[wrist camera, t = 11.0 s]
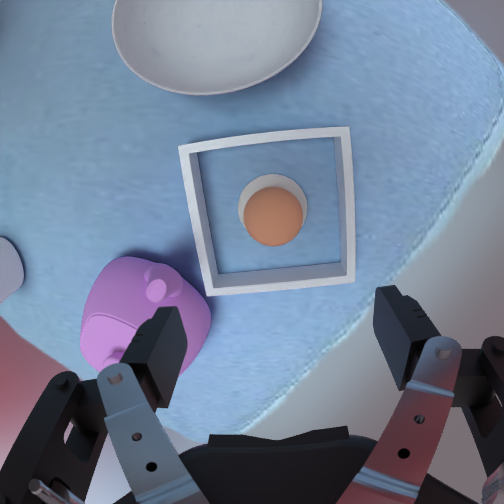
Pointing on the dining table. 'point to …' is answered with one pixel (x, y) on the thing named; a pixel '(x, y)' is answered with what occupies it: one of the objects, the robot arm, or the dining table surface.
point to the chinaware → (212, 41)
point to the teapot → (138, 309)
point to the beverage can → (9, 270)
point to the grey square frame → (281, 276)
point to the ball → (273, 216)
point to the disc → (271, 181)
